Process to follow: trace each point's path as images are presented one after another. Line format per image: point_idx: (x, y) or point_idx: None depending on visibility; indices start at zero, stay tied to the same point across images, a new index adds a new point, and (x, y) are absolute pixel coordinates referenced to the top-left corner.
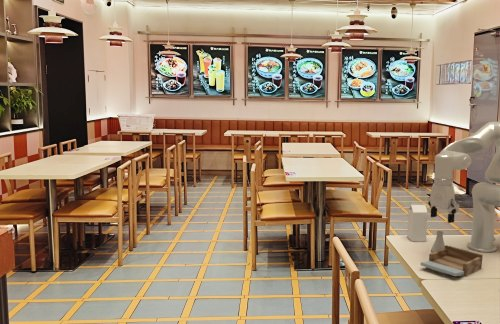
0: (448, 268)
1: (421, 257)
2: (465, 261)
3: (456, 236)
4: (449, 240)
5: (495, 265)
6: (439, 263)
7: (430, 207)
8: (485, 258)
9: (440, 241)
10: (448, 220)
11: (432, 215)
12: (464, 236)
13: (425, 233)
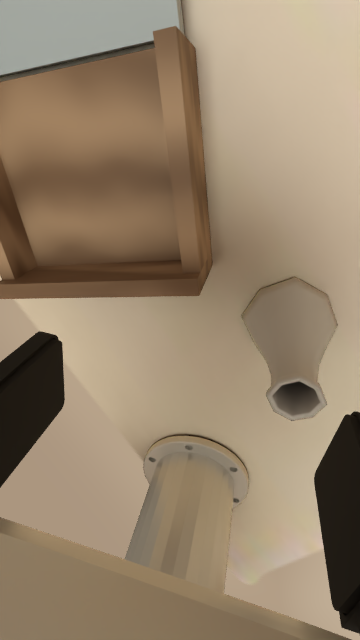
0: (4, 2)
1: (314, 150)
2: (79, 247)
3: None
4: None
5: None
6: (118, 69)
7: None
8: (116, 386)
9: (274, 342)
10: (26, 346)
11: (351, 439)
12: (313, 545)
13: None
